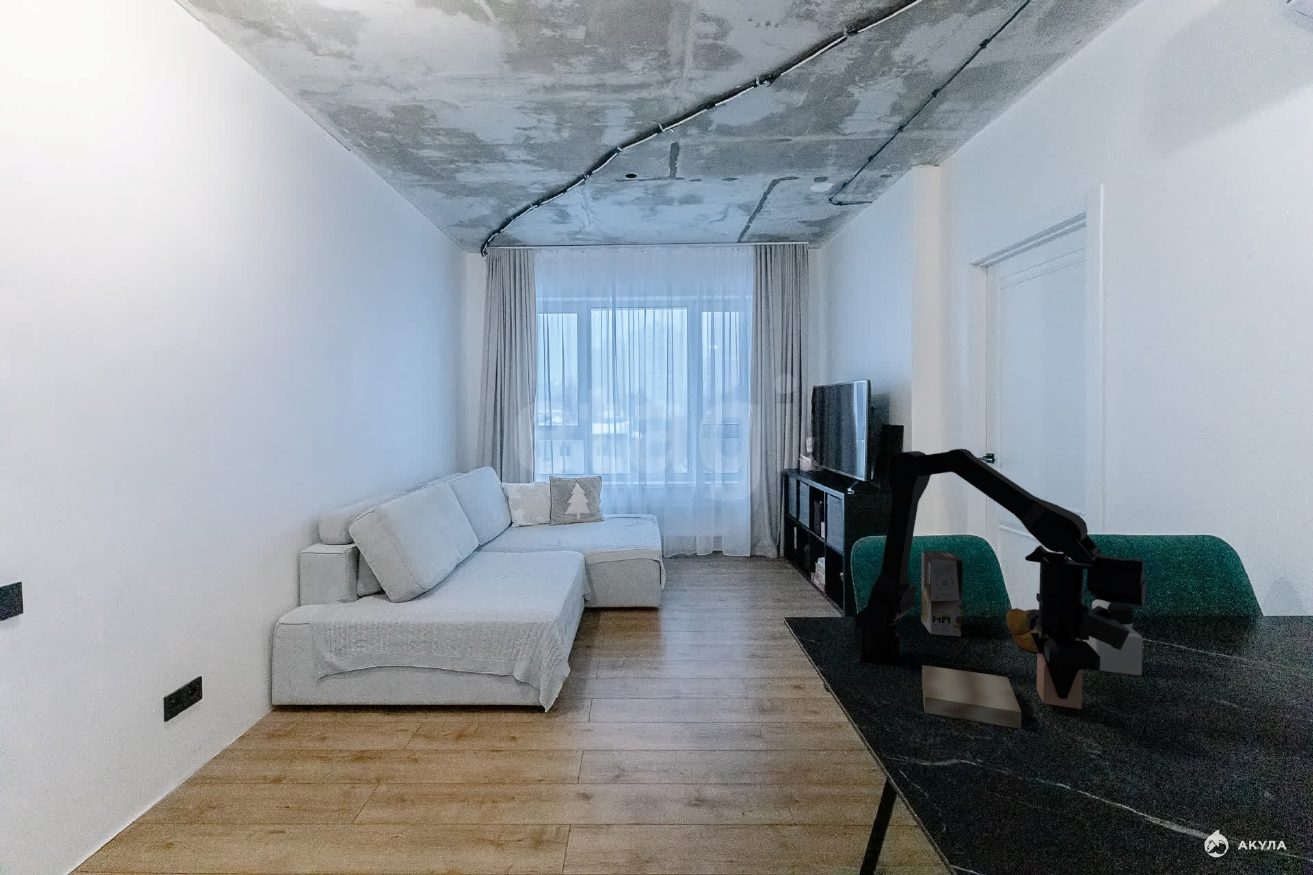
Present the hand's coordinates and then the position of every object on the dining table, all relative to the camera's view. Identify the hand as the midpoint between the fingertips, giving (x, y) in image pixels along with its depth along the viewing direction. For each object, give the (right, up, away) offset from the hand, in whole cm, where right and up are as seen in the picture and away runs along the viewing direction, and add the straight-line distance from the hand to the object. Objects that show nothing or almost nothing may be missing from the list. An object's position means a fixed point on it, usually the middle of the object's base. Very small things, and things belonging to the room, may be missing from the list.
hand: (1058, 690), depth 96 cm
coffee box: (-2, -2, +36) cm, 36 cm away
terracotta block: (0, -1, 0) cm, 1 cm away
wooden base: (-13, -3, +2) cm, 14 cm away
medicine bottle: (+21, -3, +17) cm, 27 cm away
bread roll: (+14, -2, +26) cm, 30 cm away
